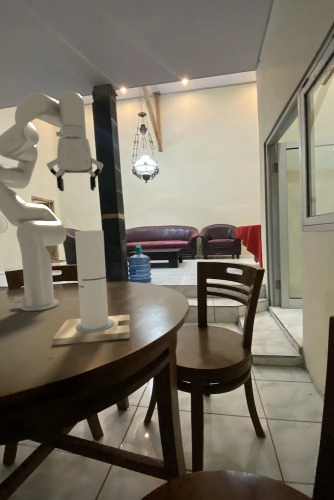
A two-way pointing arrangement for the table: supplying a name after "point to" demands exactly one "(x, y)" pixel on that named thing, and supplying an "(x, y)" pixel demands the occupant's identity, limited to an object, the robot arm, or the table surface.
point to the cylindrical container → (91, 278)
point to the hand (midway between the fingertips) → (77, 190)
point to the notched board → (93, 331)
